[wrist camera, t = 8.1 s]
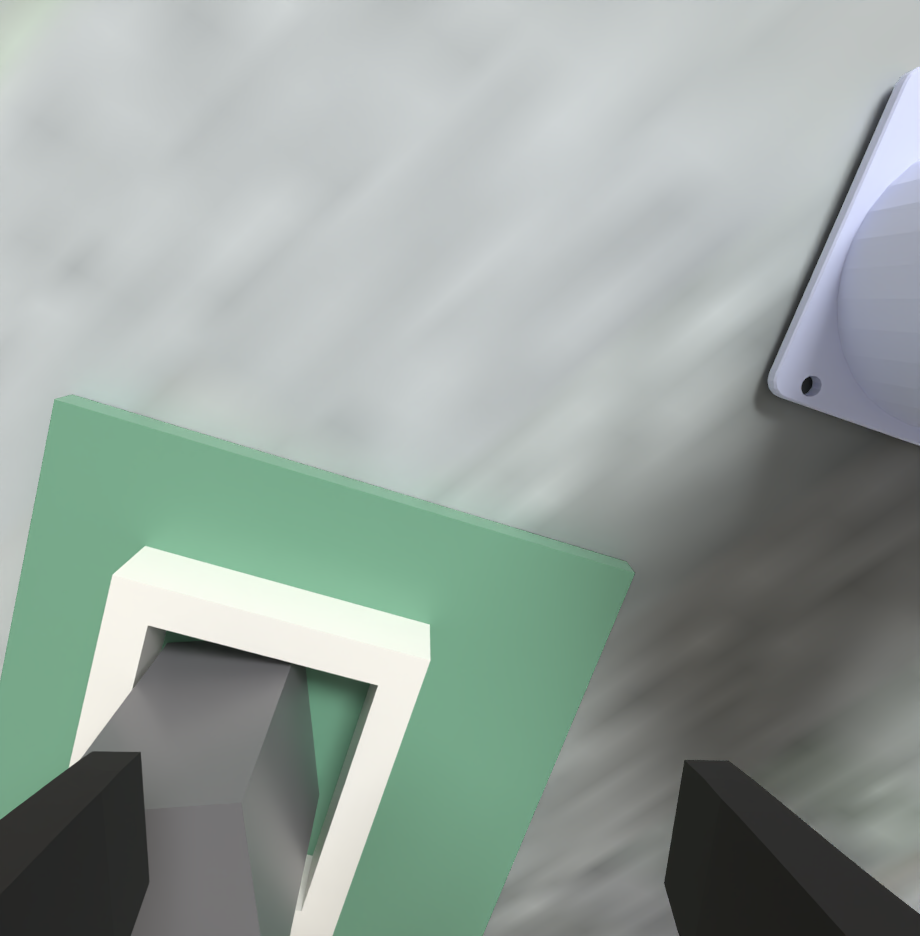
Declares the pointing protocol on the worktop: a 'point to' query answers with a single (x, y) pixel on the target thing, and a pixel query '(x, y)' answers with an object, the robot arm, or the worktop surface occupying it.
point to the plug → (220, 788)
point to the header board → (313, 649)
